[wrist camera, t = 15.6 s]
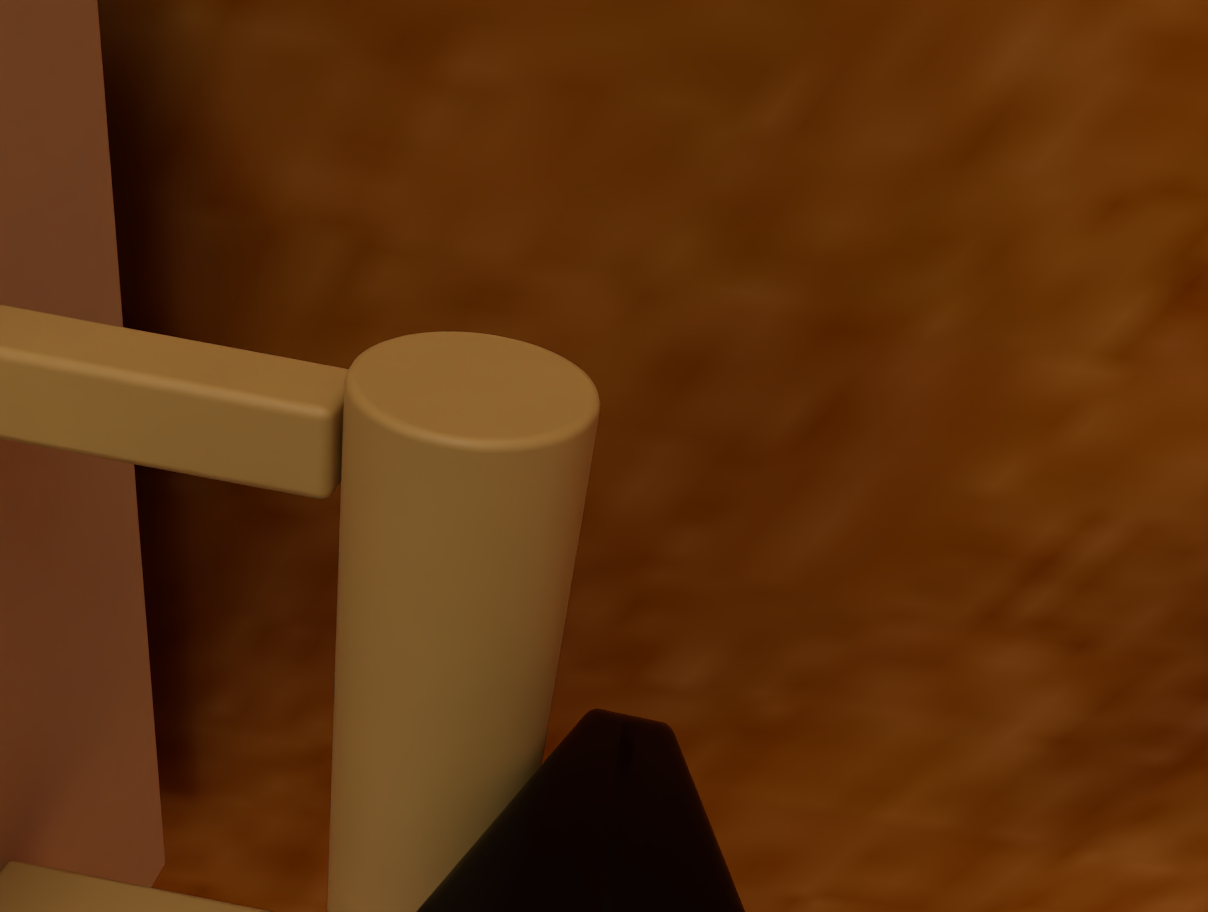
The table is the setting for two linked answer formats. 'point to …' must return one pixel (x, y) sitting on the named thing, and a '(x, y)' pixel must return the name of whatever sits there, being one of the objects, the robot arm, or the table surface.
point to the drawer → (270, 461)
